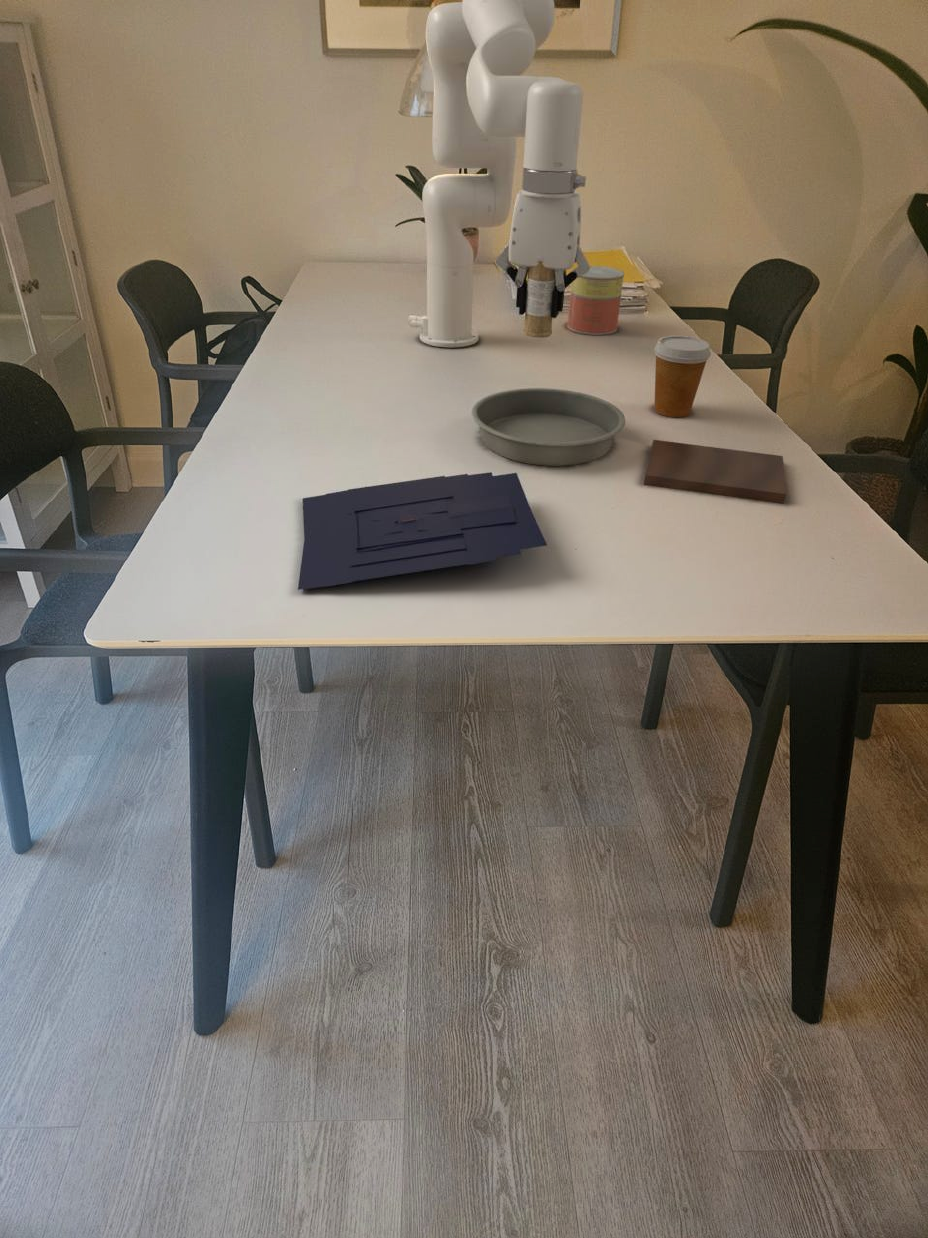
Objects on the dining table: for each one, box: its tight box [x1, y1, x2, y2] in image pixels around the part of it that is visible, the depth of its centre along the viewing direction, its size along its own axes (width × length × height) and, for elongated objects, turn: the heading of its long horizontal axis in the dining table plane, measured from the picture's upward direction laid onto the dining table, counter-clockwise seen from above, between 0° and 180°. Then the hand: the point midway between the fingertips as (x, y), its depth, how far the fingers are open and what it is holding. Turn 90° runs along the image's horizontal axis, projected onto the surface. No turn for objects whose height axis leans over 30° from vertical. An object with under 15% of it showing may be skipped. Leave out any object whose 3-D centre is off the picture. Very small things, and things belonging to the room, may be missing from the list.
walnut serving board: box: [643, 439, 787, 504], centre depth 130 cm, size 20×14×2 cm
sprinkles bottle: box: [522, 254, 556, 339], centre depth 130 cm, size 5×5×14 cm
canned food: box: [566, 265, 625, 336], centre depth 190 cm, size 11×11×12 cm
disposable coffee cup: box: [653, 335, 712, 418], centre depth 149 cm, size 10×10×12 cm
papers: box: [297, 471, 548, 591], centre depth 111 cm, size 24×30×4 cm
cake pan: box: [471, 387, 626, 467], centre depth 139 cm, size 25×25×4 cm
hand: (539, 312), depth 132 cm, fingers closed on sprinkles bottle, 4 cm apart
